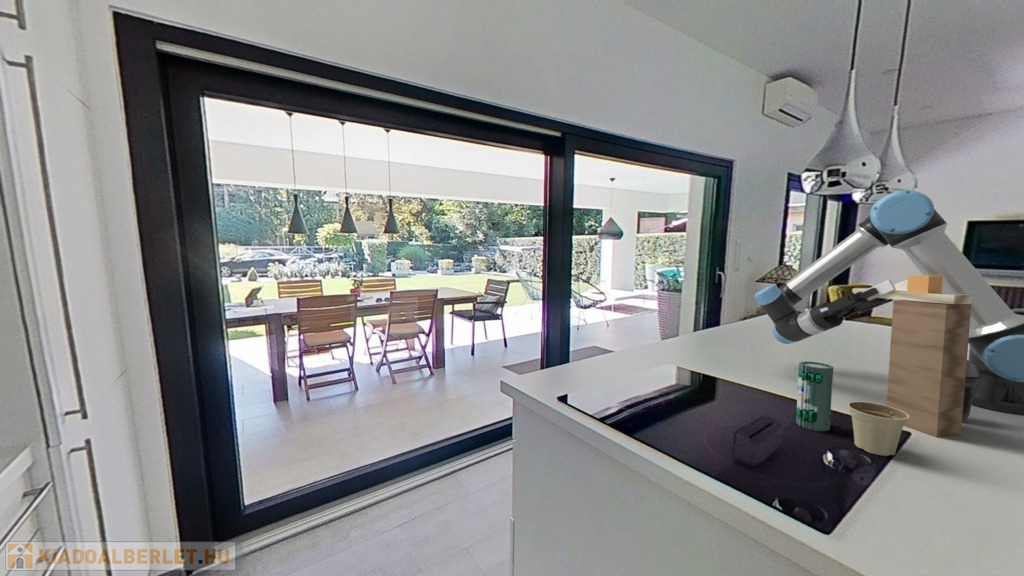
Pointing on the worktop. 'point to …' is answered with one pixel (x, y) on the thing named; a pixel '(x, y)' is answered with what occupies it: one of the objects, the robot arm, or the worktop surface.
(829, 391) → the can
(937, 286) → the cube
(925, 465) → the worktop surface
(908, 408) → the stand
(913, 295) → the slat
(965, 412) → the beverage cup
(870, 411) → the flower pot
